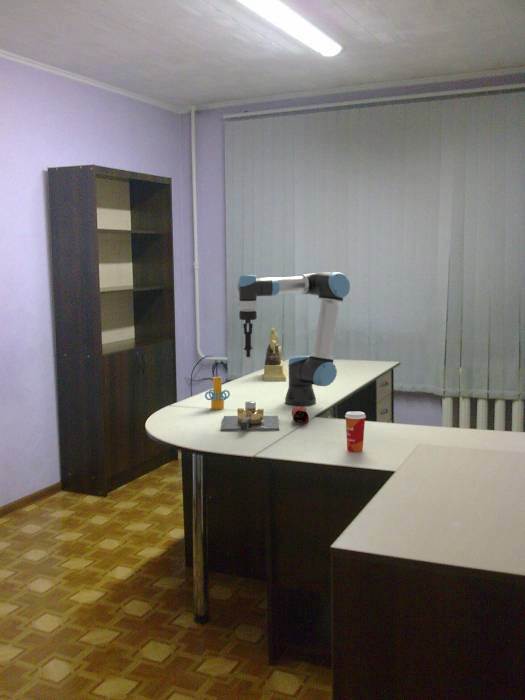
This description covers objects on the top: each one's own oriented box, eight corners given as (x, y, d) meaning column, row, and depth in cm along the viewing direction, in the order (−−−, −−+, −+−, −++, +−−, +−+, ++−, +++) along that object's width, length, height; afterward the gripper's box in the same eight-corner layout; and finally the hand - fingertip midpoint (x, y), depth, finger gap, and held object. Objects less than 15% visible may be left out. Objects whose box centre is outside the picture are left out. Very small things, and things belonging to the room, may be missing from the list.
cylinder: (225, 411, 332) (224, 379, 330) (203, 410, 334) (203, 379, 332) (231, 406, 343) (231, 375, 342) (210, 405, 345) (210, 374, 344)
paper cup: (342, 447, 267) (342, 411, 265) (362, 447, 268) (363, 410, 266) (346, 453, 259) (347, 415, 257) (367, 452, 260) (368, 415, 258)
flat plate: (277, 417, 318) (277, 396, 317) (279, 431, 293) (279, 408, 292) (223, 418, 318) (223, 397, 316) (220, 431, 293) (220, 408, 292)
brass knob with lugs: (240, 418, 312) (239, 406, 311) (265, 418, 310) (264, 406, 310) (230, 431, 288) (230, 418, 287) (257, 432, 287) (257, 419, 286)
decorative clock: (286, 381, 414) (286, 329, 410) (263, 381, 415) (263, 329, 411) (286, 373, 442) (286, 325, 438) (265, 373, 442) (265, 325, 439)
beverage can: (306, 419, 315) (307, 404, 314) (309, 426, 303) (309, 410, 302) (290, 419, 314) (290, 405, 314) (292, 426, 303) (292, 410, 302)
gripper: (239, 309, 317) (240, 362, 320) (238, 311, 304) (239, 366, 307) (256, 309, 317) (256, 362, 320) (256, 311, 304) (256, 366, 307)
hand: (248, 364), depth 314 cm, fingers closed
